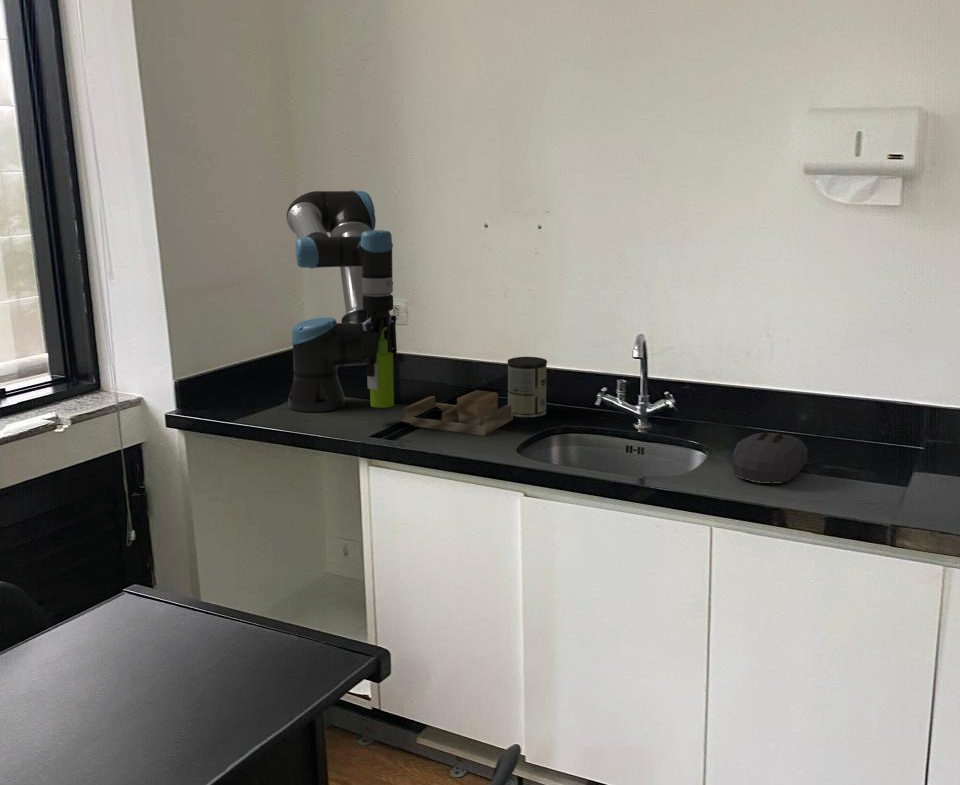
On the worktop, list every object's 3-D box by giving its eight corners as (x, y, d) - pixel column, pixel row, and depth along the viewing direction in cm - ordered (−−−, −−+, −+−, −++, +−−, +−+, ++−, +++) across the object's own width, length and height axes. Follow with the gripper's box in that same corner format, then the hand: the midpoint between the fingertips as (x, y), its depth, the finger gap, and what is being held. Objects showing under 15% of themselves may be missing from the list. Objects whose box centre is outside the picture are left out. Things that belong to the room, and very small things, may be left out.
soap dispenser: (372, 401, 259) (370, 323, 255) (397, 403, 257) (395, 325, 253) (362, 406, 254) (360, 327, 249) (388, 408, 252) (386, 329, 247)
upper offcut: (457, 413, 251) (457, 398, 251) (477, 405, 260) (477, 390, 259) (478, 416, 249) (478, 401, 248) (497, 408, 257) (497, 392, 256)
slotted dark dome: (744, 456, 230) (719, 481, 212) (746, 421, 228) (721, 443, 211) (812, 466, 222) (793, 492, 205) (815, 429, 221) (796, 453, 203)
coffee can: (508, 407, 273) (508, 356, 270) (546, 408, 272) (547, 356, 269) (505, 417, 263) (506, 363, 260) (545, 418, 262) (546, 364, 259)
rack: (401, 424, 256) (401, 409, 255) (433, 409, 270) (433, 395, 269) (484, 435, 246) (484, 419, 245) (512, 419, 260) (512, 404, 259)
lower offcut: (458, 429, 252) (458, 414, 251) (476, 420, 261) (476, 405, 260) (480, 432, 250) (480, 416, 249) (497, 423, 258) (497, 407, 257)
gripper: (370, 299, 239) (372, 395, 245) (410, 290, 256) (411, 380, 261) (343, 298, 243) (346, 392, 248) (384, 288, 259) (386, 377, 264)
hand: (379, 385), depth 255 cm, fingers closed on soap dispenser, 6 cm apart
